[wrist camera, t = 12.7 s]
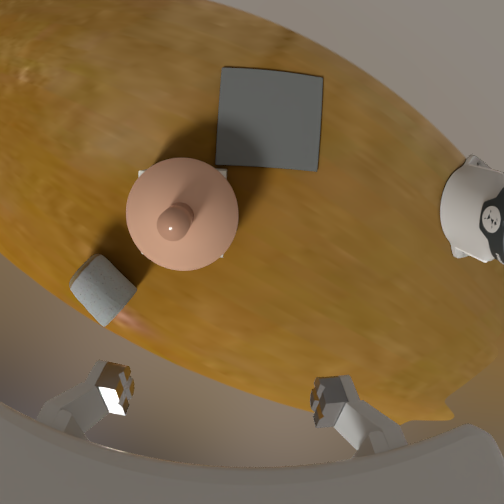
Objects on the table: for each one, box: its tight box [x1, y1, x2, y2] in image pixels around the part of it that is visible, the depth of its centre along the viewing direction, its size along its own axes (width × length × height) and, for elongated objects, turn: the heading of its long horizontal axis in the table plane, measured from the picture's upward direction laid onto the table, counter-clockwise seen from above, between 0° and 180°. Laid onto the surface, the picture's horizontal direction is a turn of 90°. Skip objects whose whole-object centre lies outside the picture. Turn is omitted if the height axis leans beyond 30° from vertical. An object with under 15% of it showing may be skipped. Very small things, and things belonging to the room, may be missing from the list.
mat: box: [215, 68, 323, 172], centre depth 32 cm, size 13×13×1 cm
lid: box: [126, 158, 238, 271], centre depth 29 cm, size 13×13×5 cm
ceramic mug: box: [69, 254, 137, 326], centre depth 35 cm, size 11×8×8 cm
